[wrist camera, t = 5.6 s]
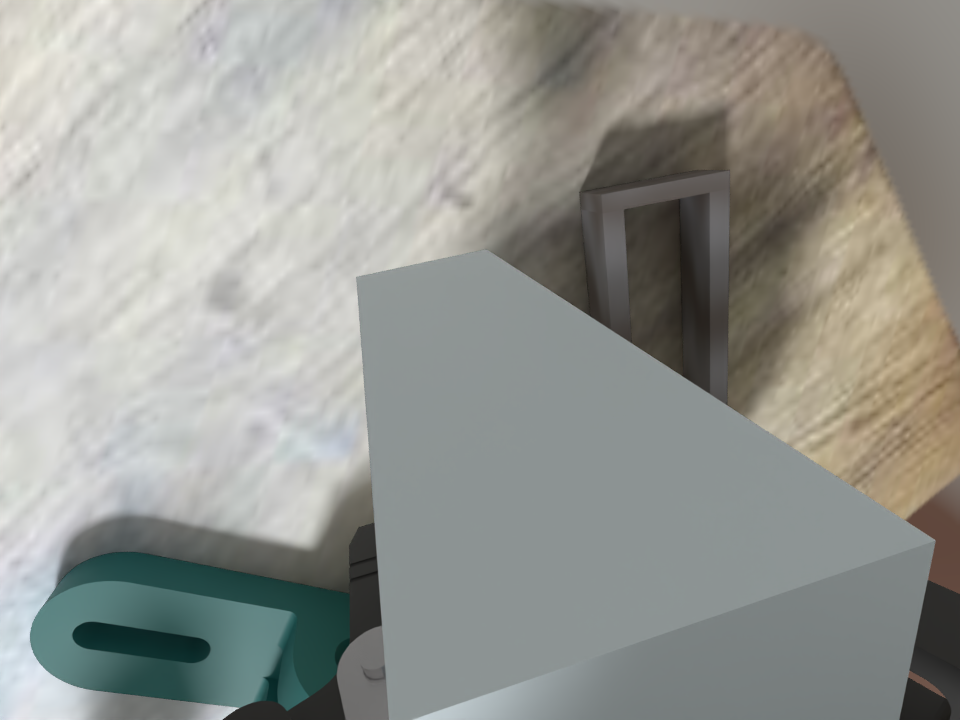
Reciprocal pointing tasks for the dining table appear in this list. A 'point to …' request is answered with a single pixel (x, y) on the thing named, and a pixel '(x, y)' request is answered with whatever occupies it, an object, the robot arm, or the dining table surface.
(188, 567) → the bracket
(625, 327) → the wooden caddy
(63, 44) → the dining table surface
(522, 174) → the dining table surface
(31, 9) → the dining table surface
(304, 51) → the dining table surface
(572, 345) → the door
